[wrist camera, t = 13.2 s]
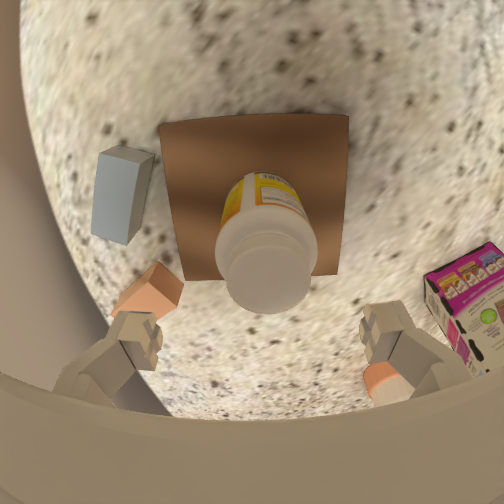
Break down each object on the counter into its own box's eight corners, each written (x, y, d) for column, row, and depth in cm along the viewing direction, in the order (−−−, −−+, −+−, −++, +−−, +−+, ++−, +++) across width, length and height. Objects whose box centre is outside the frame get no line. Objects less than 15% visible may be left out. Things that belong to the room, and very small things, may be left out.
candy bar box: (423, 304, 29) (481, 415, 15) (422, 274, 27) (495, 394, 13) (488, 269, 26) (555, 357, 12) (491, 239, 24) (572, 328, 10)
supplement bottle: (237, 242, 23) (229, 334, 15) (217, 179, 21) (189, 247, 12) (304, 226, 23) (333, 313, 14) (289, 161, 20) (319, 216, 11)
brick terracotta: (158, 260, 26) (148, 281, 23) (184, 283, 27) (176, 306, 24) (121, 293, 28) (110, 314, 25) (144, 312, 30) (135, 335, 27)
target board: (163, 123, 19) (158, 125, 18) (343, 115, 19) (348, 116, 18) (187, 273, 27) (185, 280, 26) (334, 267, 26) (337, 274, 25)
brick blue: (119, 144, 20) (99, 153, 17) (155, 154, 21) (139, 163, 18) (108, 216, 24) (90, 233, 21) (140, 227, 24) (126, 245, 21)
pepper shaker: (362, 387, 38) (387, 495, 21) (363, 362, 34) (395, 489, 18) (404, 373, 37) (438, 476, 20) (410, 347, 33) (454, 464, 17)
